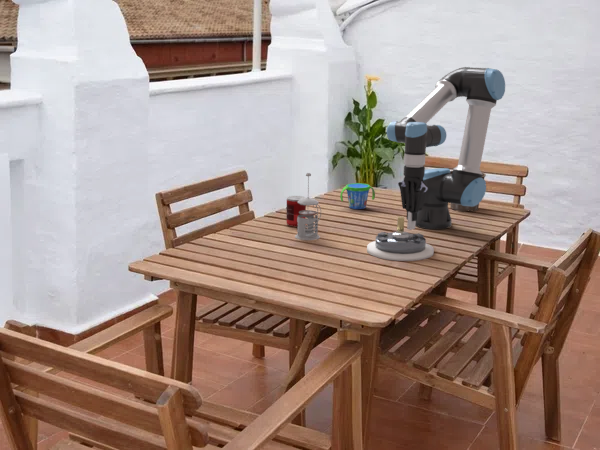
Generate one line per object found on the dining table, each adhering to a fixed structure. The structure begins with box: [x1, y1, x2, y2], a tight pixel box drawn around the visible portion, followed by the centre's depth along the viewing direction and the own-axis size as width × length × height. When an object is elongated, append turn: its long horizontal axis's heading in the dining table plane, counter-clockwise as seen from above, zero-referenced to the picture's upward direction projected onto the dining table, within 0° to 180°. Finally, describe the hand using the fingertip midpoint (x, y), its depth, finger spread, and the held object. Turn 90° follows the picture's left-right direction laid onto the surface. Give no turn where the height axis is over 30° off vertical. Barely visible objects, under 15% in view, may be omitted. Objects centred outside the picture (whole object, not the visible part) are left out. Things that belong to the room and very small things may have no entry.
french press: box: [294, 172, 322, 241], centre depth 322 cm, size 10×12×25 cm
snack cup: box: [339, 182, 376, 210], centre depth 373 cm, size 16×10×10 cm
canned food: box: [286, 195, 307, 227], centre depth 342 cm, size 8×8×11 cm
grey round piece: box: [375, 215, 427, 254], centre depth 304 cm, size 18×18×9 cm
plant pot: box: [450, 170, 487, 212], centre depth 373 cm, size 16×16×16 cm
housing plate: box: [366, 240, 435, 262], centre depth 306 cm, size 24×24×2 cm
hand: (411, 228), depth 310 cm, fingers closed
